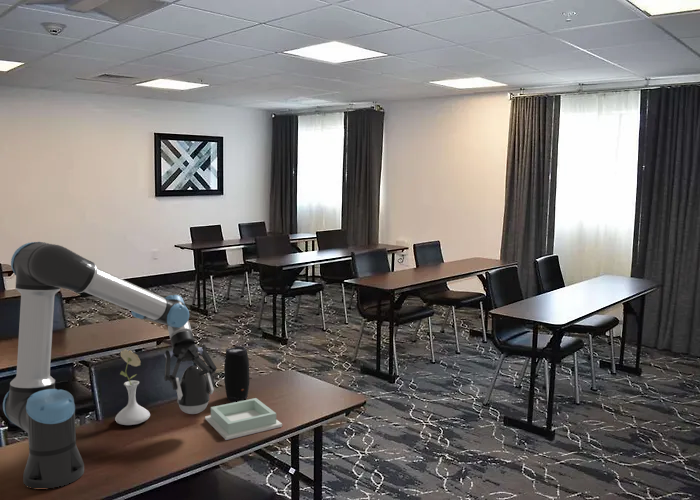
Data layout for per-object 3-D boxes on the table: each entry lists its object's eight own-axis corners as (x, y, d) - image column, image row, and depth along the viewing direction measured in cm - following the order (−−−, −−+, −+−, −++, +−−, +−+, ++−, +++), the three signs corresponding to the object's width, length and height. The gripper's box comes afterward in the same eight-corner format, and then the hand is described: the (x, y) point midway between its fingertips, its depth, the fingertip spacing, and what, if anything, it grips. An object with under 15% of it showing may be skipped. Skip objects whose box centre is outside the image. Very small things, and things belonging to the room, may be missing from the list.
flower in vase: (156, 421, 200) (153, 351, 198) (123, 431, 192) (120, 357, 190) (139, 411, 210) (136, 343, 207) (107, 420, 202) (104, 349, 199)
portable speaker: (250, 401, 220) (249, 351, 218) (225, 403, 218) (224, 352, 215) (248, 393, 228) (247, 344, 226) (224, 395, 226) (223, 346, 224)
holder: (225, 440, 186) (225, 426, 186) (205, 419, 203) (205, 406, 202) (282, 426, 197) (282, 413, 196) (258, 407, 214) (258, 395, 213)
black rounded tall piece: (201, 418, 184) (201, 371, 182) (171, 415, 186) (170, 369, 184) (215, 407, 194) (215, 362, 192) (186, 404, 196) (186, 360, 194)
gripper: (210, 338, 207) (226, 394, 195) (146, 346, 195) (159, 406, 183) (215, 326, 202) (232, 383, 190) (149, 333, 190) (163, 395, 178)
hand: (196, 395), depth 187 cm, fingers closed on black rounded tall piece, 9 cm apart
